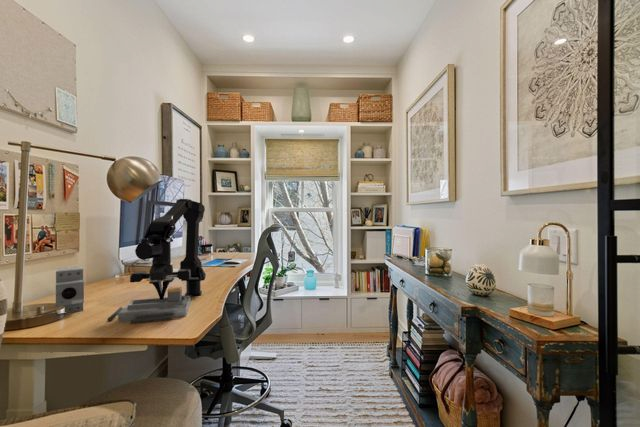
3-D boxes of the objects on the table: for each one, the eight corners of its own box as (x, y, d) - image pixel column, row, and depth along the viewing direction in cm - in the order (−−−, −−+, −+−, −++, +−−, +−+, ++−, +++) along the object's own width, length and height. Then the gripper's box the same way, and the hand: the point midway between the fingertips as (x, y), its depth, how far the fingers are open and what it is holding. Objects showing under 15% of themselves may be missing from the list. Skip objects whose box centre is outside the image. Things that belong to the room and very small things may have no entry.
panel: (132, 308, 115) (132, 297, 115) (190, 303, 121) (190, 292, 121) (118, 322, 100) (118, 309, 100) (186, 315, 106) (185, 304, 106)
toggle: (169, 299, 114) (169, 287, 114) (181, 298, 115) (181, 286, 115) (167, 303, 109) (167, 290, 109) (180, 302, 110) (179, 289, 110)
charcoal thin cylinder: (129, 324, 98) (129, 320, 98) (130, 323, 99) (130, 319, 99) (171, 320, 102) (171, 316, 102) (172, 319, 103) (172, 315, 103)
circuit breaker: (55, 319, 103) (55, 274, 103) (56, 309, 114) (56, 268, 114) (84, 314, 108) (83, 271, 108) (82, 305, 119) (82, 266, 119)
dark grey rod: (119, 310, 112) (119, 307, 112) (123, 310, 112) (123, 307, 112) (107, 321, 101) (107, 317, 101) (111, 321, 101) (111, 317, 101)
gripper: (125, 260, 100) (125, 308, 100) (187, 257, 106) (187, 303, 106) (134, 255, 111) (134, 299, 111) (190, 253, 117) (190, 295, 117)
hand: (161, 299), depth 111 cm, fingers closed
